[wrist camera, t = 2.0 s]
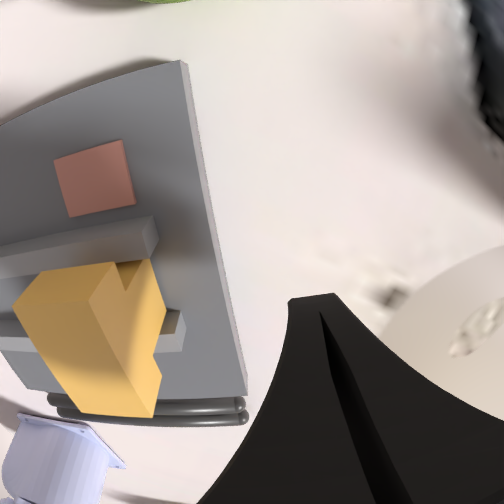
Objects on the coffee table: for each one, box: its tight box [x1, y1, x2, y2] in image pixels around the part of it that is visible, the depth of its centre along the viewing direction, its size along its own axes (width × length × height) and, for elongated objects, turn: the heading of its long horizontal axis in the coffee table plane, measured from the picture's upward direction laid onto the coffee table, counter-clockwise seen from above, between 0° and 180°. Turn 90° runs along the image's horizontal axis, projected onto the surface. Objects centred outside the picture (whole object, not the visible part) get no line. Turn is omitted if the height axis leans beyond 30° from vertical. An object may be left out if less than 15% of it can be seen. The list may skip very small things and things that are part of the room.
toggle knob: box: [12, 258, 167, 418], centre depth 10 cm, size 3×5×5 cm, turn 7°
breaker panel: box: [0, 60, 249, 427], centre depth 14 cm, size 16×20×3 cm
